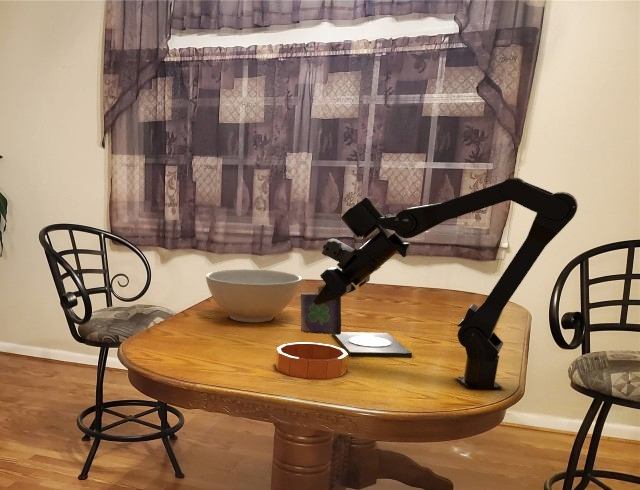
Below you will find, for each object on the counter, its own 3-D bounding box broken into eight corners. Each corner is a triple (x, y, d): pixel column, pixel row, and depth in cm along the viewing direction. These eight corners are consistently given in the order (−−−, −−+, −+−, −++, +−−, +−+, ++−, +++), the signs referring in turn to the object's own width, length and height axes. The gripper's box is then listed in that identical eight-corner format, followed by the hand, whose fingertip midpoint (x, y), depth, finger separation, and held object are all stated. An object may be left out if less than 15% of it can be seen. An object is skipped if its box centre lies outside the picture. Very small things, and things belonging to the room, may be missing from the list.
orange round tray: (352, 379, 142) (354, 360, 141) (281, 378, 143) (282, 359, 142) (337, 360, 156) (338, 343, 155) (272, 358, 157) (273, 342, 156)
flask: (299, 332, 156) (298, 285, 153) (304, 329, 158) (304, 283, 155) (338, 335, 151) (339, 287, 147) (343, 332, 153) (344, 284, 150)
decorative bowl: (234, 304, 217) (236, 266, 213) (314, 316, 200) (317, 275, 197) (186, 319, 197) (187, 277, 193) (270, 333, 181) (273, 287, 177)
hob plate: (411, 357, 158) (412, 352, 158) (349, 356, 159) (350, 351, 159) (387, 336, 177) (387, 332, 177) (332, 335, 178) (332, 331, 178)
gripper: (360, 223, 152) (308, 269, 162) (333, 229, 138) (278, 280, 147) (393, 261, 151) (339, 305, 160) (370, 271, 136) (311, 320, 145)
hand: (317, 302), depth 153 cm, fingers closed on flask, 3 cm apart
